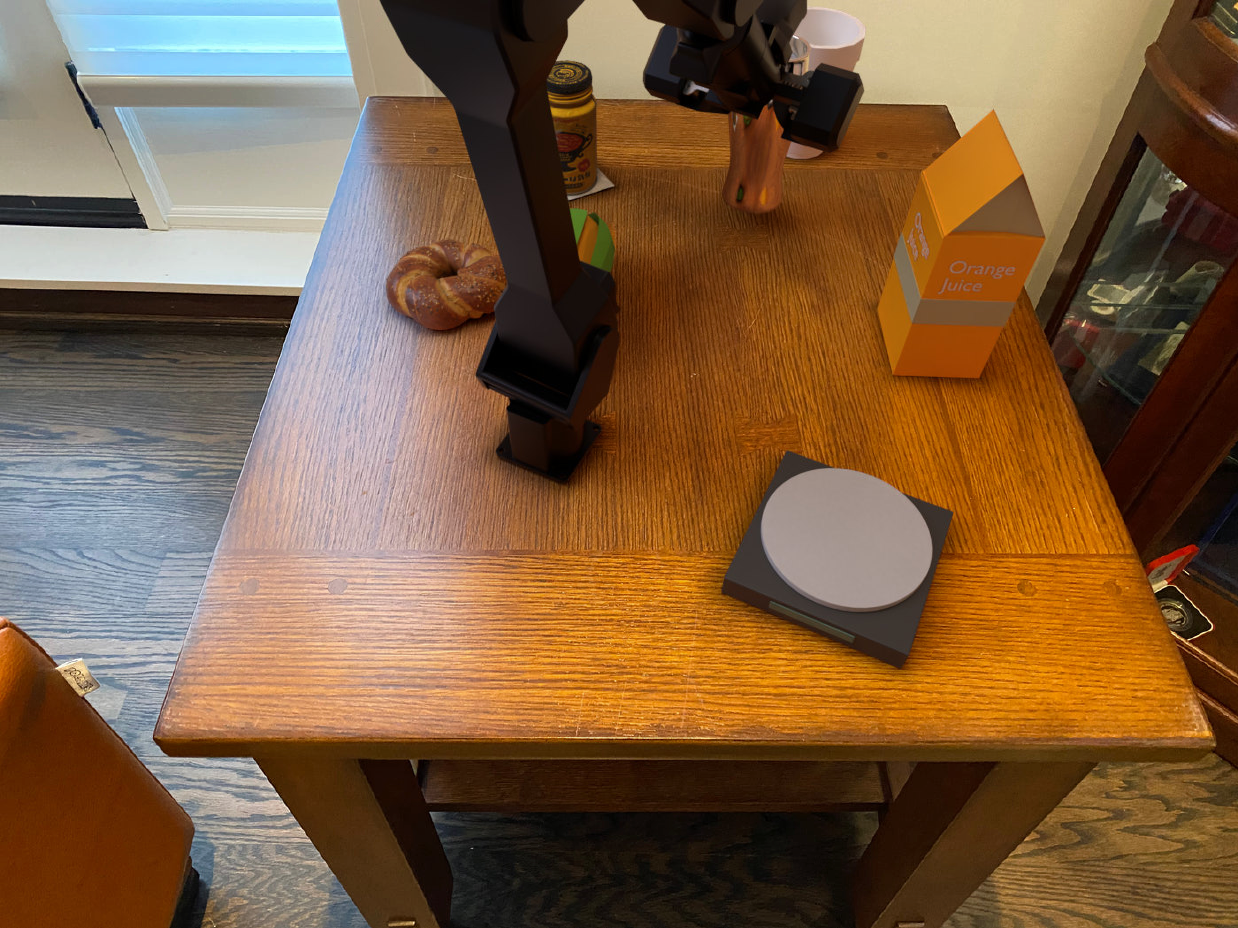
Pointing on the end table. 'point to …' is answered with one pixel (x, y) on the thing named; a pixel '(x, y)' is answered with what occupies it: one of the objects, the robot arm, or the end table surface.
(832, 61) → the foam cup
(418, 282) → the pretzel
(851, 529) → the scale
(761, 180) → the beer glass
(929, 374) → the orange juice
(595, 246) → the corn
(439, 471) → the end table surface
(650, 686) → the end table surface
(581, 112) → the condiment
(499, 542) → the end table surface
